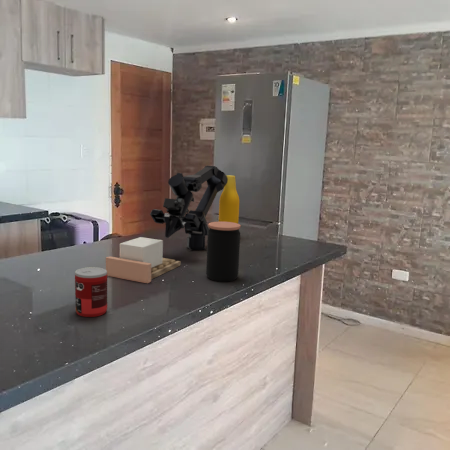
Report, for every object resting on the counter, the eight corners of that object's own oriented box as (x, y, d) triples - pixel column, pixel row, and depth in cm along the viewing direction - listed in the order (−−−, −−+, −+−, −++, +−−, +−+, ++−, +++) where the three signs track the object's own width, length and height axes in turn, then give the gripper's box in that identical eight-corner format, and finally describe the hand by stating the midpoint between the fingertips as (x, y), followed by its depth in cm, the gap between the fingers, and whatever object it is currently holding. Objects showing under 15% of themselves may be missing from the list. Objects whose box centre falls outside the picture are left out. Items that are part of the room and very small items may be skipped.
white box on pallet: (140, 259, 162) (140, 237, 161) (162, 263, 159) (162, 240, 157) (119, 267, 152) (119, 243, 150) (142, 271, 148) (143, 247, 147)
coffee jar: (242, 275, 158) (244, 223, 154) (232, 284, 148) (234, 228, 144) (212, 271, 161) (214, 220, 158) (201, 279, 151) (203, 225, 148)
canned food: (79, 306, 124) (78, 266, 121) (109, 306, 124) (109, 267, 122) (72, 317, 116) (71, 275, 114) (104, 317, 117) (104, 275, 115)
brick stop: (109, 273, 153) (109, 256, 152) (151, 281, 147) (151, 263, 146) (105, 275, 151) (105, 257, 150) (147, 283, 145) (147, 264, 144)
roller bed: (148, 260, 172) (148, 253, 171) (180, 265, 166) (180, 258, 166) (113, 274, 153) (113, 267, 152) (148, 280, 147) (148, 273, 147)
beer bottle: (219, 236, 219) (222, 174, 213) (238, 237, 217) (242, 175, 212) (216, 240, 210) (218, 176, 204) (236, 241, 208) (239, 177, 203)
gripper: (152, 187, 174) (135, 221, 166) (197, 192, 166) (181, 227, 159) (163, 206, 182) (147, 238, 174) (206, 210, 175) (191, 245, 167)
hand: (166, 237), depth 168 cm, fingers closed
